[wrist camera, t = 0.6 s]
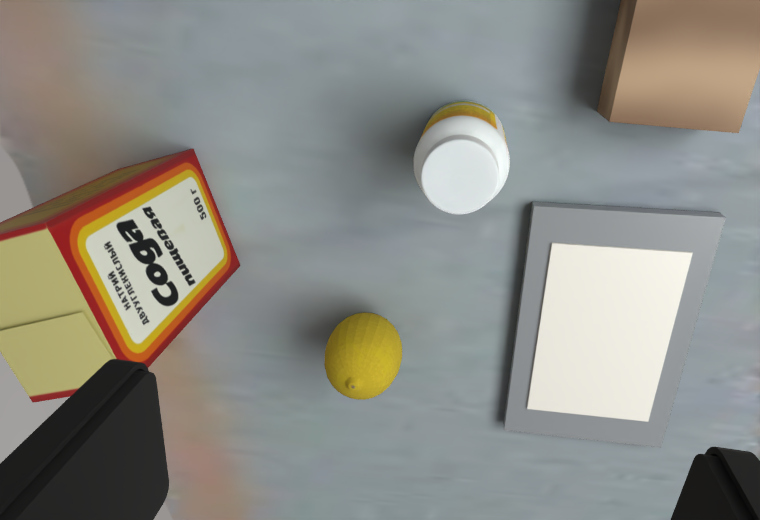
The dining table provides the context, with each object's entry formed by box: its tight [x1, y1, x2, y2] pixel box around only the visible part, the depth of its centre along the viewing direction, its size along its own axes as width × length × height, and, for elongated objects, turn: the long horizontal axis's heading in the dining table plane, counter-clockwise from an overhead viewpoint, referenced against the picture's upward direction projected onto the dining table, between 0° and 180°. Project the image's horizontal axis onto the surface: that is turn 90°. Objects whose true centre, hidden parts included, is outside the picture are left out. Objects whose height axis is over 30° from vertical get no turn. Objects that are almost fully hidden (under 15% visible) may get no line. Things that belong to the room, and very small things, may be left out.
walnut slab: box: [597, 0, 760, 133], centre depth 31 cm, size 12×7×4 cm, turn 176°
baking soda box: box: [0, 149, 240, 402], centre depth 36 cm, size 10×6×16 cm
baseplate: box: [504, 202, 726, 448], centre depth 41 cm, size 19×12×1 cm, turn 179°
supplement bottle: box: [413, 100, 510, 214], centre depth 33 cm, size 5×5×10 cm
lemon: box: [325, 313, 402, 399], centre depth 41 cm, size 6×6×8 cm
